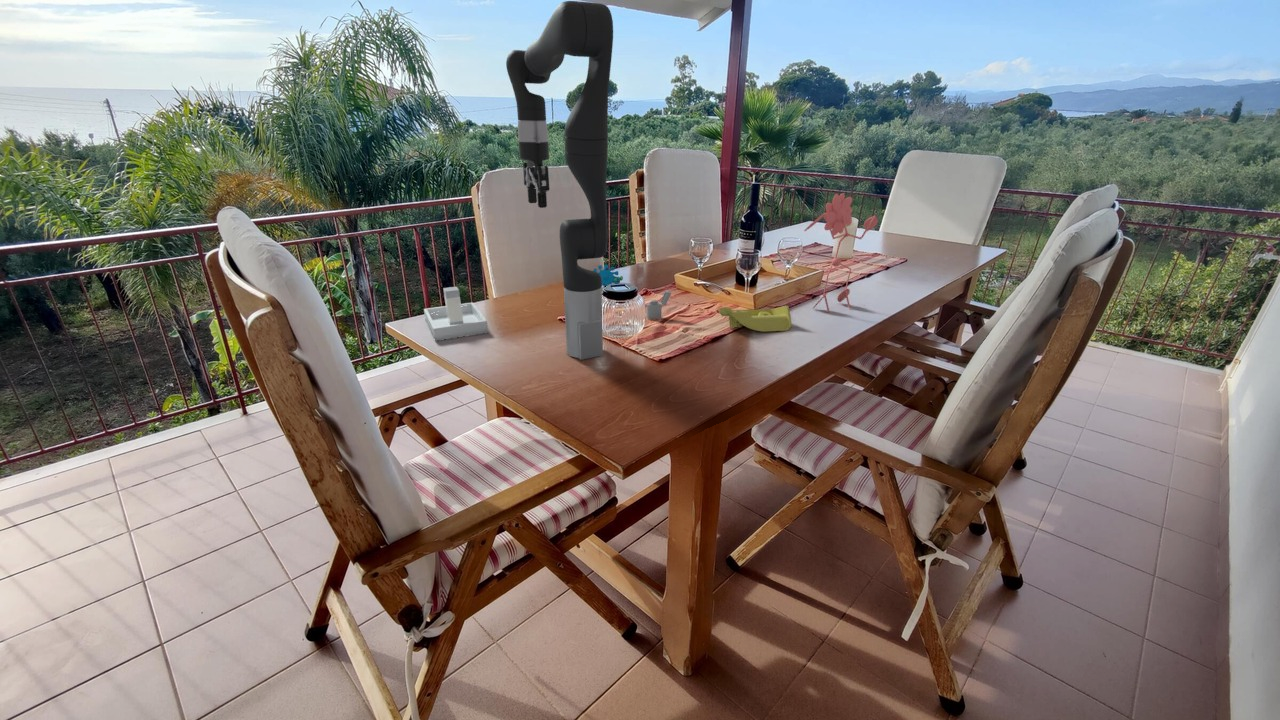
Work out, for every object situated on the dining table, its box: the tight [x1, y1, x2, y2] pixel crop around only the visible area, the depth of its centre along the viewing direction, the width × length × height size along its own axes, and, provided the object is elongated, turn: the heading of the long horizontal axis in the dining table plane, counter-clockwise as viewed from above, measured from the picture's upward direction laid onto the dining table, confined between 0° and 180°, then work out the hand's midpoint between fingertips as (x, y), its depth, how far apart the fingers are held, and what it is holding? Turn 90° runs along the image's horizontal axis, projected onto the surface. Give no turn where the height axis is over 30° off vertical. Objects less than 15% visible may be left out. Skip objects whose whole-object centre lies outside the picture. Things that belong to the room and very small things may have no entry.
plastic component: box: [718, 305, 792, 333], centre depth 157 cm, size 20×7×10 cm
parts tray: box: [423, 302, 489, 342], centre depth 154 cm, size 18×14×4 cm
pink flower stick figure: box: [794, 192, 879, 313], centre depth 170 cm, size 15×26×35 cm, turn 118°
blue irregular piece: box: [592, 263, 624, 287], centre depth 192 cm, size 11×6×10 cm
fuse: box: [442, 286, 463, 325], centre depth 153 cm, size 4×4×10 cm
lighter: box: [646, 289, 672, 320], centre depth 163 cm, size 7×2×8 cm, turn 106°
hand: (537, 205), depth 146 cm, fingers open, 8 cm apart
